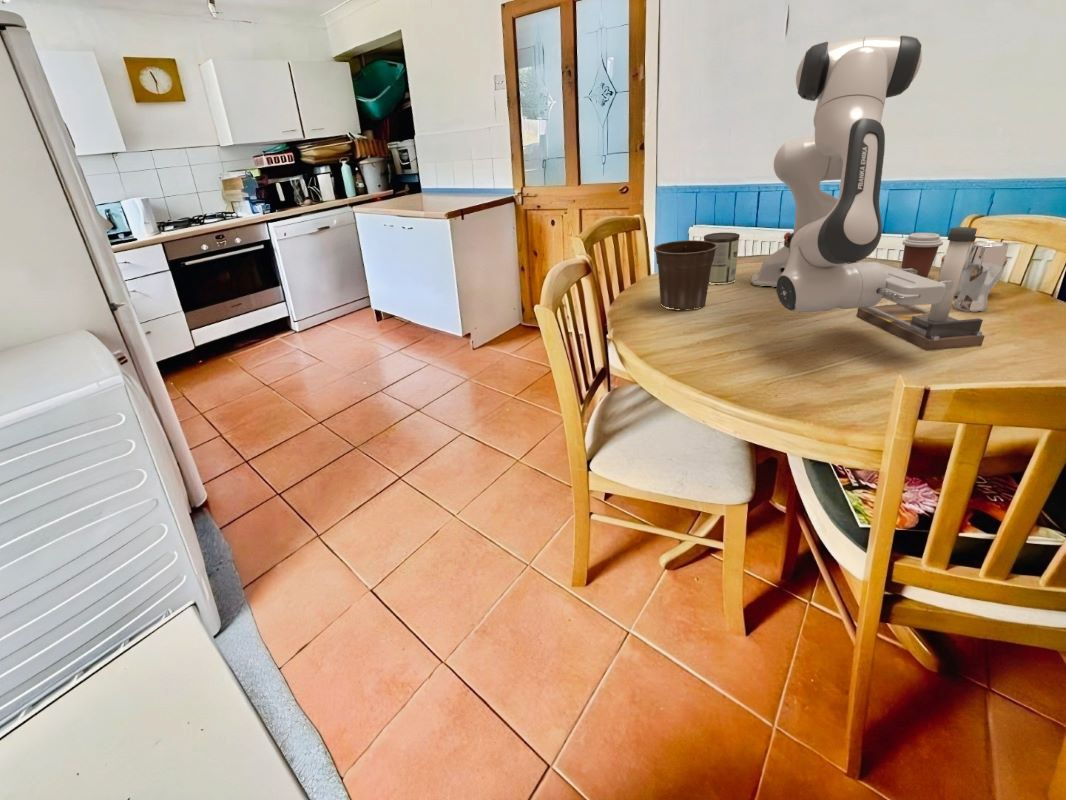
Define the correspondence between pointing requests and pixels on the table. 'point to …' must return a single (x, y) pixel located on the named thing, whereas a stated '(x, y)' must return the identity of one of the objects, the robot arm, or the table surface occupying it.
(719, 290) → the table surface
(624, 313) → the table surface
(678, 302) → the plant pot
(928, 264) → the coffee cup
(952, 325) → the press bed
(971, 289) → the beer glass
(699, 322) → the table surface
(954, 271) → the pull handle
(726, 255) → the coffee can
